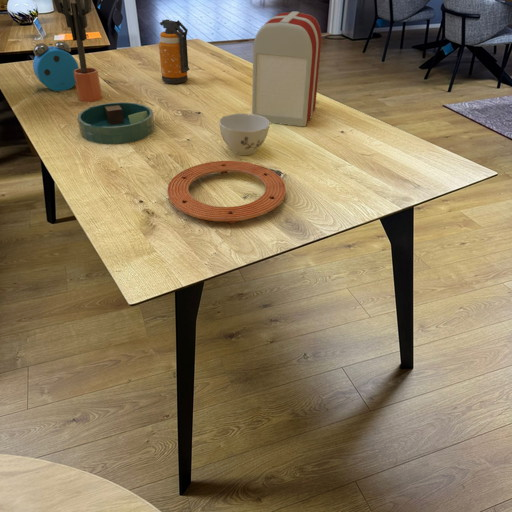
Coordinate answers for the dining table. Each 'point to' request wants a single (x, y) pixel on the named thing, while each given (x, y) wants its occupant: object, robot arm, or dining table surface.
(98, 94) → the holder
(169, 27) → the canister
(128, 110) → the bowl
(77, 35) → the stick
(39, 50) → the alarm clock
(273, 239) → the dining table surface
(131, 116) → the sage block
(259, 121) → the teacup
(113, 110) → the walnut block
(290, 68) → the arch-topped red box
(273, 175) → the ring
